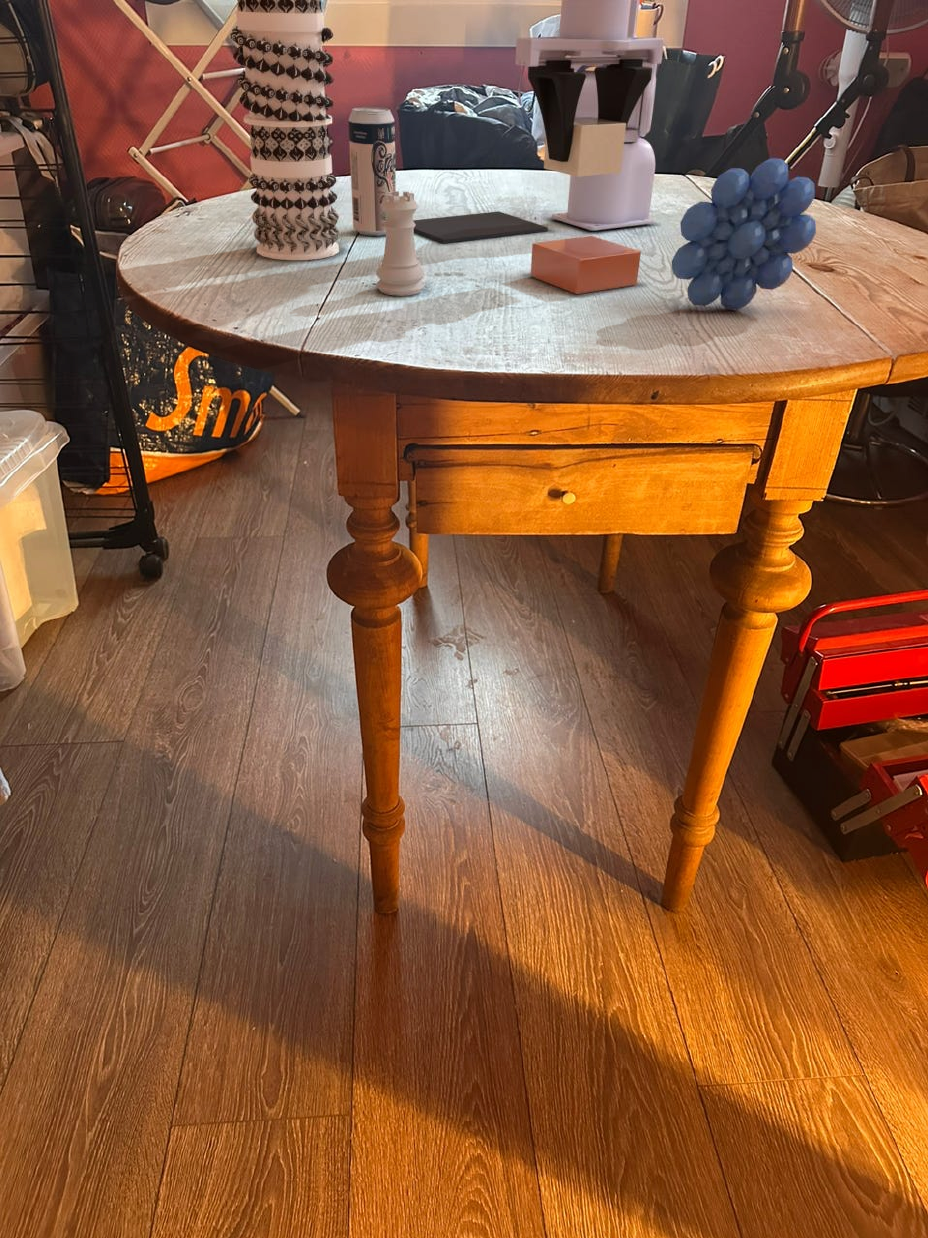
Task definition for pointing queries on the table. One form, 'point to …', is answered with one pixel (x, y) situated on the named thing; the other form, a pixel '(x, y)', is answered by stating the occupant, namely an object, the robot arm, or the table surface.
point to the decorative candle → (288, 126)
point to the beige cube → (592, 148)
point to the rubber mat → (474, 227)
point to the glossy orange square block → (585, 264)
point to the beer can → (371, 167)
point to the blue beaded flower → (745, 234)
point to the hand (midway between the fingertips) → (582, 158)
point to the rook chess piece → (399, 248)
